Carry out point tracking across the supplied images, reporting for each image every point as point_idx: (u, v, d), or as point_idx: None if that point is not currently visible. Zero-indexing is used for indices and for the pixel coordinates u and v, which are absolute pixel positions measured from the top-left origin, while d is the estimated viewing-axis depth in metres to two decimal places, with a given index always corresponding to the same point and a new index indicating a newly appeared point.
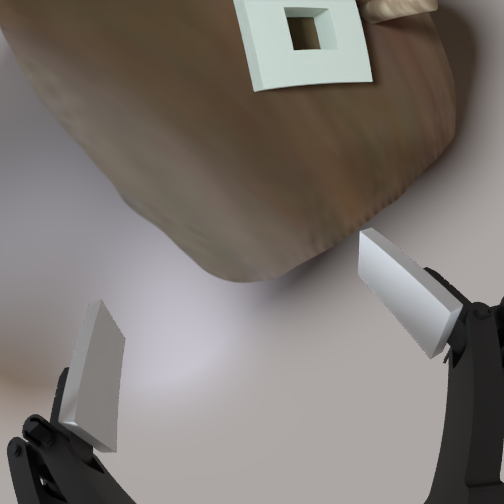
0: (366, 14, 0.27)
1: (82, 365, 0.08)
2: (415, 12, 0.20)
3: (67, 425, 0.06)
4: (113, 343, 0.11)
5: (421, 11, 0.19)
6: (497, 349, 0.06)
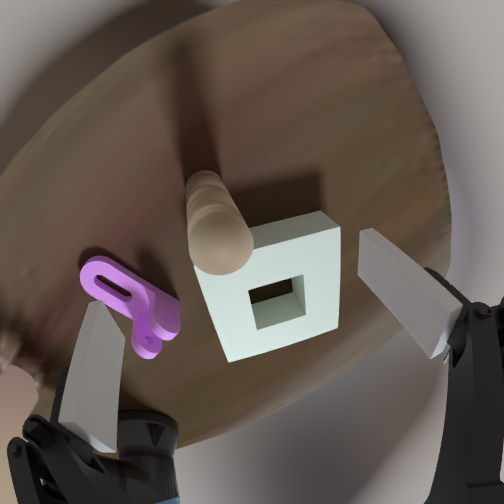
0: None
1: (82, 365, 0.08)
2: None
3: (67, 425, 0.06)
4: (113, 343, 0.11)
5: None
6: (497, 349, 0.06)
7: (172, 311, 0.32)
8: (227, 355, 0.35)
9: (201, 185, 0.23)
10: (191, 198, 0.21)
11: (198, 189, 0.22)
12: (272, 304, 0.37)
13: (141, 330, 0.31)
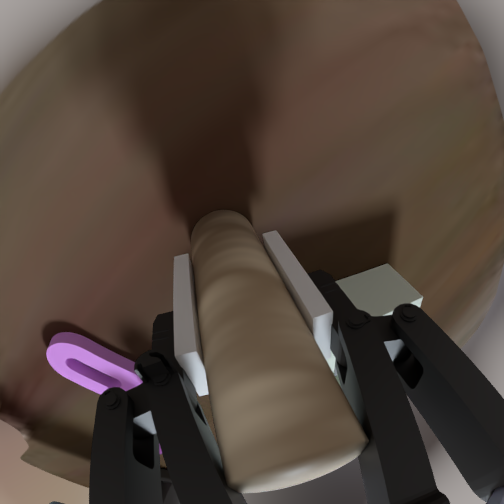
0: None
1: (189, 303, 0.10)
2: None
3: (183, 359, 0.08)
4: None
5: None
6: (387, 356, 0.07)
7: None
8: None
9: (226, 266, 0.11)
10: (208, 304, 0.10)
11: (222, 280, 0.10)
12: None
13: None
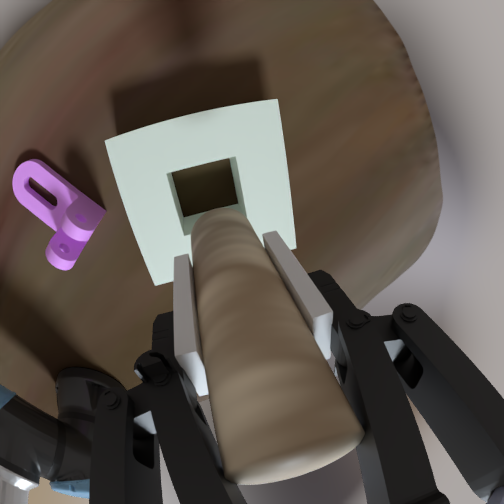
0: None
1: (189, 303, 0.10)
2: None
3: (183, 359, 0.08)
4: None
5: None
6: (387, 356, 0.07)
7: (91, 214, 0.25)
8: (152, 274, 0.28)
9: (225, 262, 0.11)
10: (207, 299, 0.10)
11: (220, 275, 0.11)
12: None
13: (59, 237, 0.24)
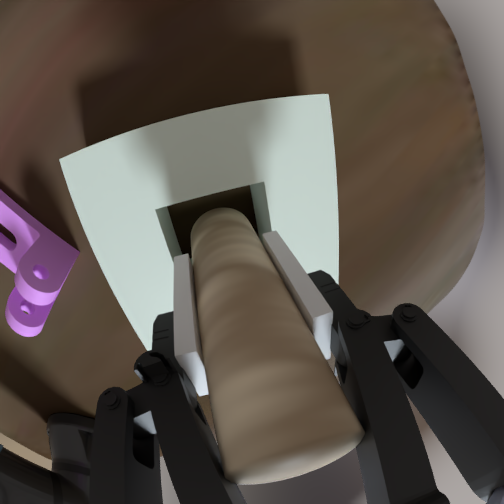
0: None
1: (189, 303, 0.10)
2: None
3: (183, 359, 0.08)
4: None
5: None
6: (387, 356, 0.07)
7: (57, 262, 0.17)
8: (144, 342, 0.20)
9: (225, 262, 0.11)
10: (207, 298, 0.10)
11: (220, 275, 0.11)
12: None
13: None
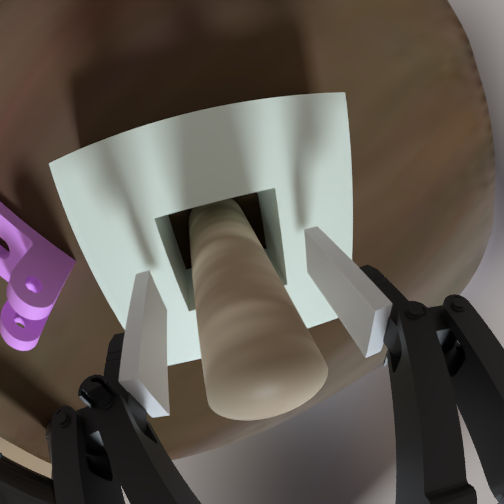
0: None
1: (140, 326, 0.10)
2: None
3: (128, 384, 0.08)
4: (159, 312, 0.13)
5: None
6: (439, 348, 0.07)
7: (51, 273, 0.16)
8: None
9: (216, 234, 0.14)
10: (200, 262, 0.13)
11: (212, 244, 0.13)
12: None
13: None
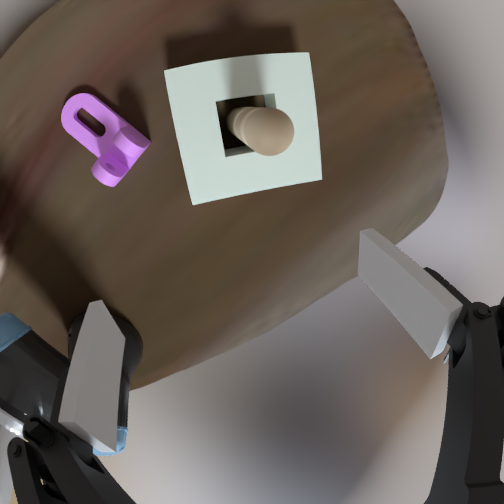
0: None
1: (82, 365, 0.08)
2: None
3: (67, 425, 0.06)
4: (113, 343, 0.11)
5: None
6: (497, 349, 0.06)
7: (140, 139, 0.28)
8: (191, 192, 0.31)
9: (246, 107, 0.26)
10: (239, 113, 0.25)
11: (244, 108, 0.25)
12: (247, 147, 0.33)
13: (105, 158, 0.27)
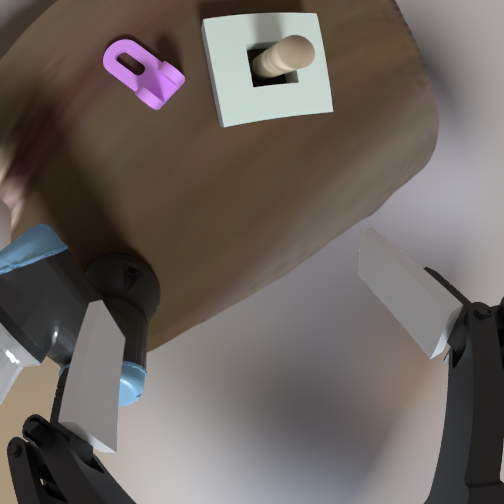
0: None
1: (82, 365, 0.08)
2: None
3: (67, 425, 0.06)
4: (113, 343, 0.11)
5: None
6: (497, 349, 0.06)
7: None
8: (223, 116, 0.33)
9: None
10: None
11: None
12: None
13: (146, 88, 0.29)
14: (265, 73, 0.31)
